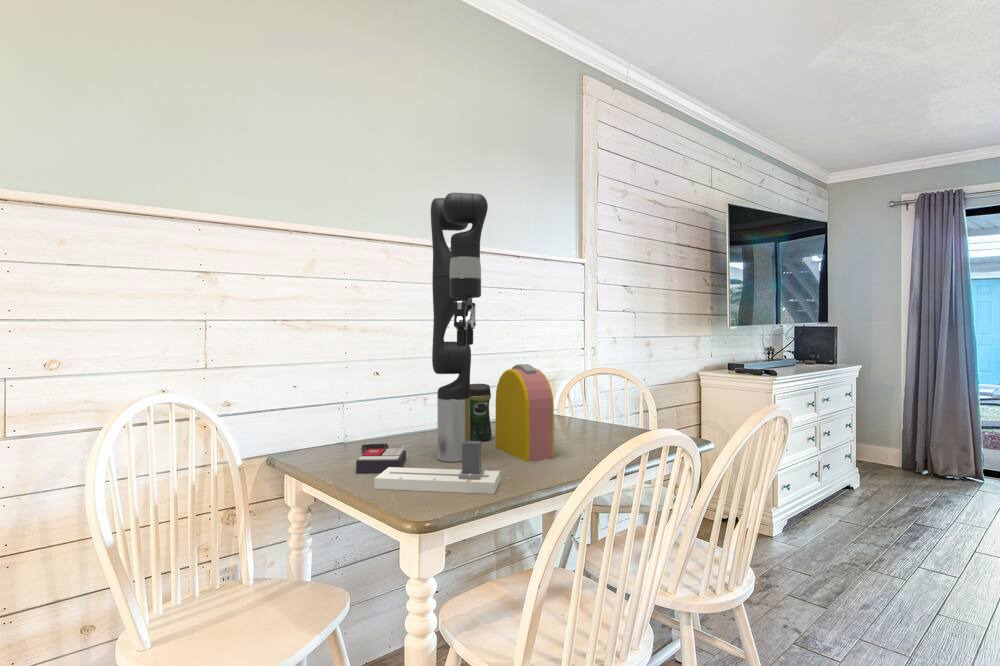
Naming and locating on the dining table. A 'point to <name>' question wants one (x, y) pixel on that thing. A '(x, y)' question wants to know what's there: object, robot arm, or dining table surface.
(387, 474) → the fader console
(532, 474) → the dining table surface
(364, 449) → the phone
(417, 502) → the dining table surface
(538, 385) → the lunch box
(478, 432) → the coffee jar
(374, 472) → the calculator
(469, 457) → the fader tab
